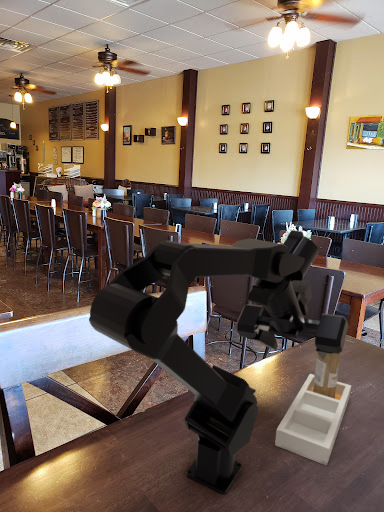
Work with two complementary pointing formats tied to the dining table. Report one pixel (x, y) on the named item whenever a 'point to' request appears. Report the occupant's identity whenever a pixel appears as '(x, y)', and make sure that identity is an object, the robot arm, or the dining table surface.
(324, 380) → the sprinkles bottle
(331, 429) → the condiment rack
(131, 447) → the dining table surface
